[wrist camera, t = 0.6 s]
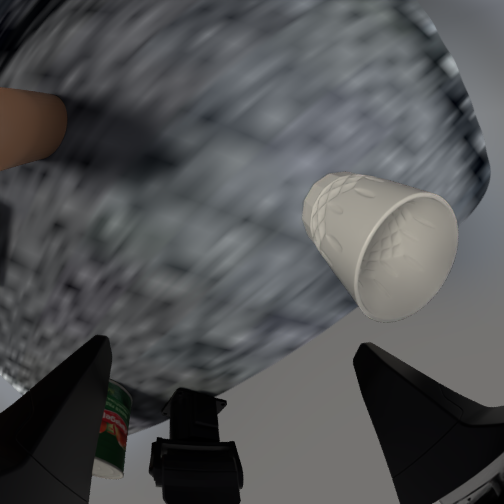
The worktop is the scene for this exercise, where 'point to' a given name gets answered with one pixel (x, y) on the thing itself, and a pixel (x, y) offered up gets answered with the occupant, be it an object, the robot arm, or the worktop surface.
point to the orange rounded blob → (29, 126)
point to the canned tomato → (113, 433)
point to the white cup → (382, 241)
